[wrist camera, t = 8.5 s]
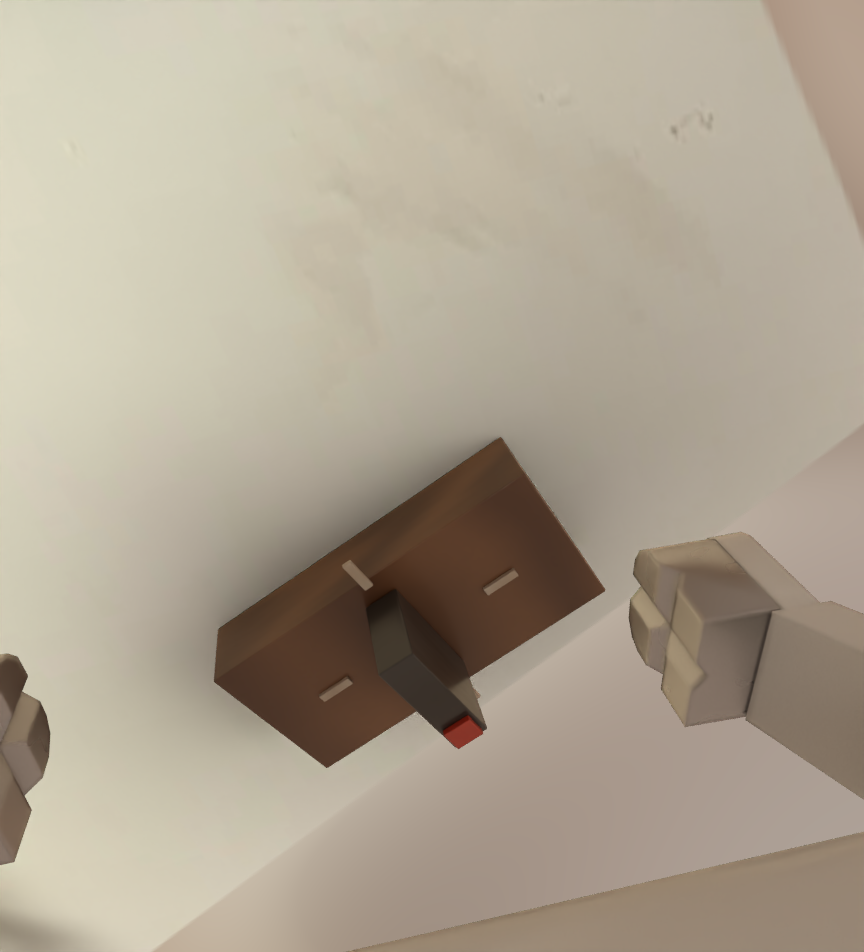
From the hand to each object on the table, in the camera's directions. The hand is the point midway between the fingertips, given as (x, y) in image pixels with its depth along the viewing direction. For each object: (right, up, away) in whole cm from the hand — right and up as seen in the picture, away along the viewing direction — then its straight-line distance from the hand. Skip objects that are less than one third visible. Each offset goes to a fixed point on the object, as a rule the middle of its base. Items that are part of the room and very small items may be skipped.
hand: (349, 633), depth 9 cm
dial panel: (0, -3, +21) cm, 21 cm away
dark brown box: (0, -4, +18) cm, 18 cm away
